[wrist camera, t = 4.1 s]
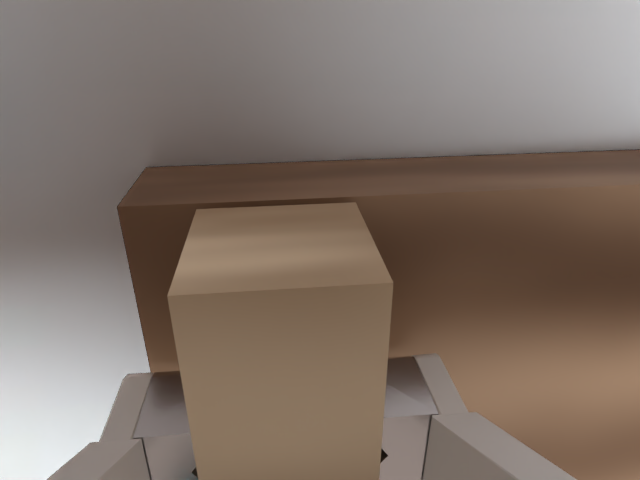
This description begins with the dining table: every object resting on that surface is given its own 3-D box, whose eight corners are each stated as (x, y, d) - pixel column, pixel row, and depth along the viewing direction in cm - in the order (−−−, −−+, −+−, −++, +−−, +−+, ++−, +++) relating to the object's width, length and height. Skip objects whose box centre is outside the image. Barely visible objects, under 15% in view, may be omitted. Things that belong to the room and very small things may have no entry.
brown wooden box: (146, 167, 11) (54, 291, 6) (764, 144, 13) (1078, 231, 8) (212, 559, 18) (193, 769, 13) (613, 515, 19) (733, 688, 14)
